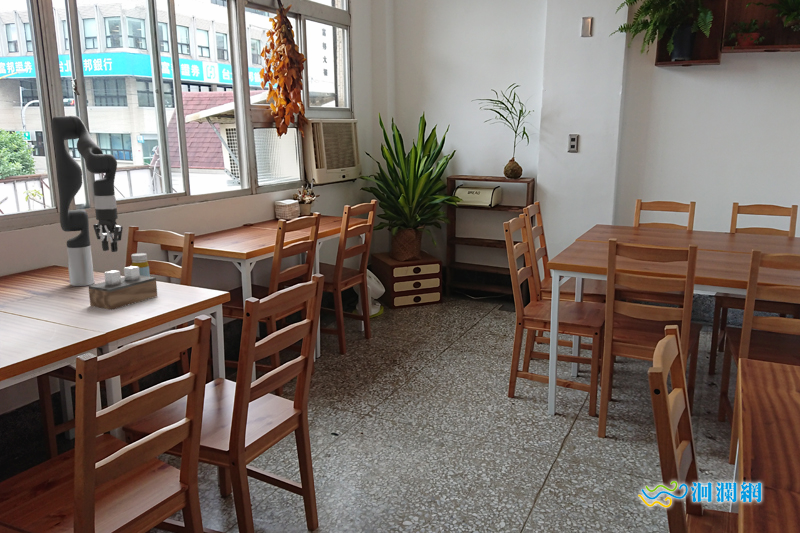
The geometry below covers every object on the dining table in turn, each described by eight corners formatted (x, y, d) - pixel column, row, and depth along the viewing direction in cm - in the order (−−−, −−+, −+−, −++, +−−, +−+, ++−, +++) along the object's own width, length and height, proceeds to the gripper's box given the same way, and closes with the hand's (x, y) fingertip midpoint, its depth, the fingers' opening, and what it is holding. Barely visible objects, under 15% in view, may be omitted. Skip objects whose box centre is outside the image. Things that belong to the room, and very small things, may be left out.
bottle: (138, 290, 256) (135, 256, 253) (130, 288, 260) (127, 254, 257) (153, 287, 261) (150, 254, 258) (145, 285, 265) (142, 252, 262)
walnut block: (90, 305, 233) (88, 285, 231) (136, 292, 252) (135, 274, 251) (111, 309, 228) (109, 289, 226) (157, 296, 247) (155, 277, 245)
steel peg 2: (125, 284, 242) (123, 267, 240) (133, 282, 245) (131, 265, 244) (132, 285, 240) (130, 268, 239) (140, 283, 244) (138, 266, 242)
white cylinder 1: (106, 289, 234) (104, 272, 232) (114, 287, 237) (113, 270, 236) (113, 290, 232) (111, 273, 231) (121, 288, 236) (120, 271, 234)
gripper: (84, 207, 228) (89, 251, 231) (110, 209, 222) (114, 254, 225) (101, 205, 234) (106, 248, 238) (127, 207, 228) (131, 251, 232)
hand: (110, 250), depth 232 cm, fingers open, 4 cm apart
